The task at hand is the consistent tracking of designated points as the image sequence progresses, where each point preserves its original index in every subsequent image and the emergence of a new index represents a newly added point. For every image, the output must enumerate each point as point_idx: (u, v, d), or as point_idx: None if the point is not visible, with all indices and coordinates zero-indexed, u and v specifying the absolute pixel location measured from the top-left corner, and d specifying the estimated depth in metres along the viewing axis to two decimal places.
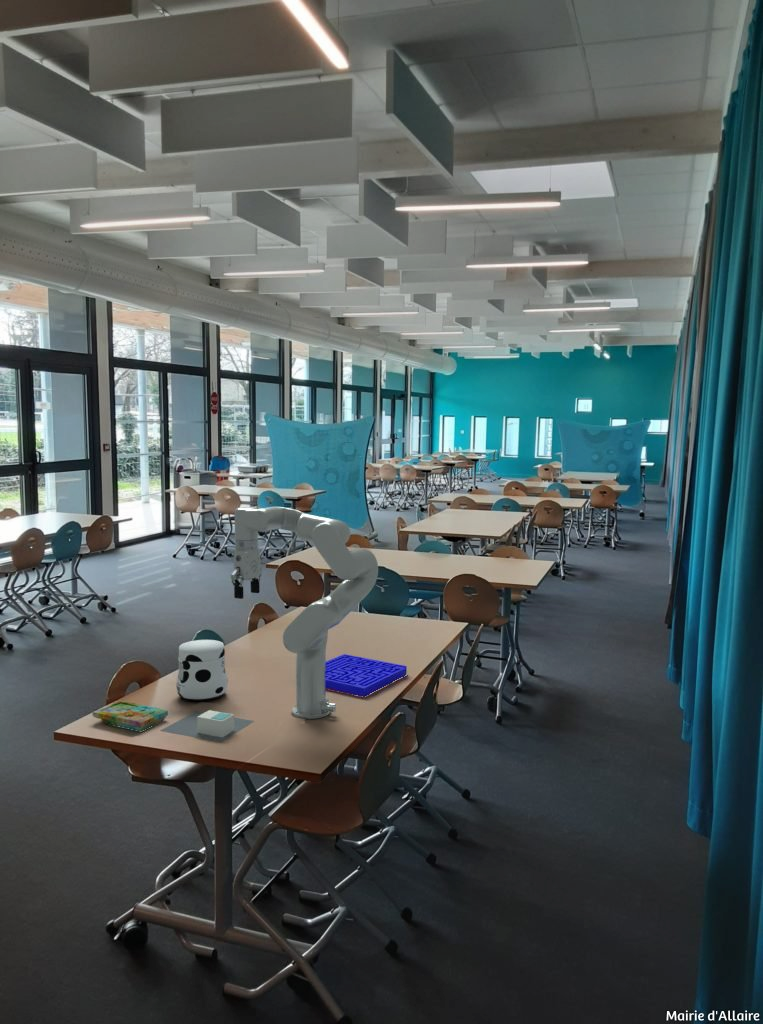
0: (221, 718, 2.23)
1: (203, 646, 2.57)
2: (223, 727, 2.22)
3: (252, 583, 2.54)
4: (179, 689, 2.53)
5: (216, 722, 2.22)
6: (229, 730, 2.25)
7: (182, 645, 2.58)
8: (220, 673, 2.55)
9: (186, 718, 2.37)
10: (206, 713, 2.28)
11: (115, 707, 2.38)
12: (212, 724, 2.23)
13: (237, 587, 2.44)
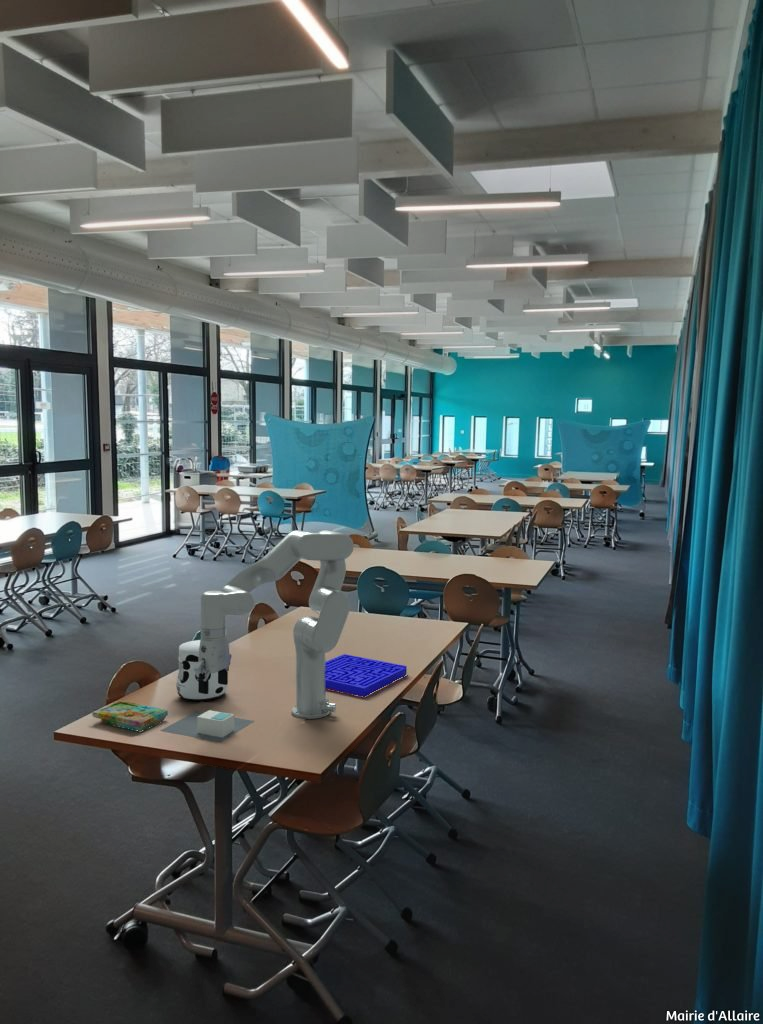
0: (221, 718, 2.23)
1: None
2: (223, 727, 2.22)
3: (220, 673, 2.29)
4: (179, 689, 2.53)
5: (216, 722, 2.22)
6: (229, 730, 2.25)
7: (182, 645, 2.58)
8: None
9: (186, 718, 2.37)
10: (206, 713, 2.28)
11: (115, 707, 2.38)
12: (212, 724, 2.23)
13: (201, 681, 2.19)
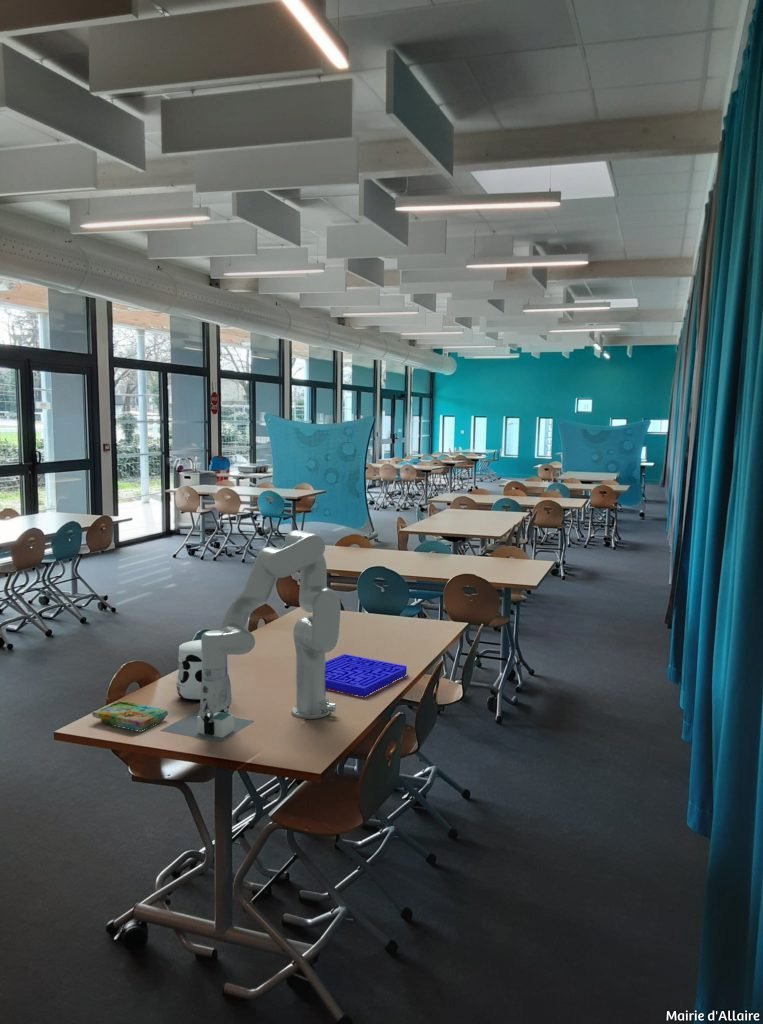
0: (221, 718, 2.23)
1: None
2: (223, 727, 2.22)
3: None
4: (179, 689, 2.53)
5: (215, 722, 2.22)
6: (229, 730, 2.25)
7: (182, 645, 2.58)
8: None
9: (186, 718, 2.37)
10: None
11: (115, 707, 2.38)
12: None
13: (207, 723, 2.22)
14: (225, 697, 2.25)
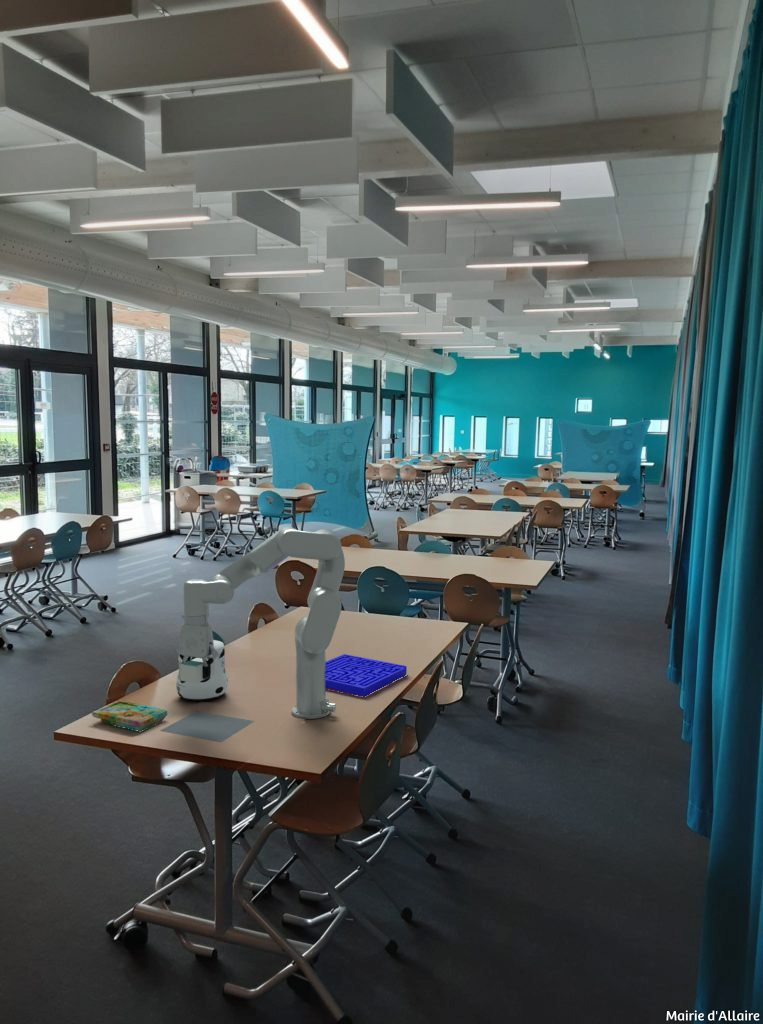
0: (186, 663, 2.31)
1: None
2: (182, 672, 2.30)
3: None
4: (179, 689, 2.53)
5: None
6: (190, 679, 2.29)
7: None
8: (220, 673, 2.55)
9: (186, 718, 2.37)
10: None
11: (115, 707, 2.38)
12: None
13: None
14: (195, 647, 2.29)
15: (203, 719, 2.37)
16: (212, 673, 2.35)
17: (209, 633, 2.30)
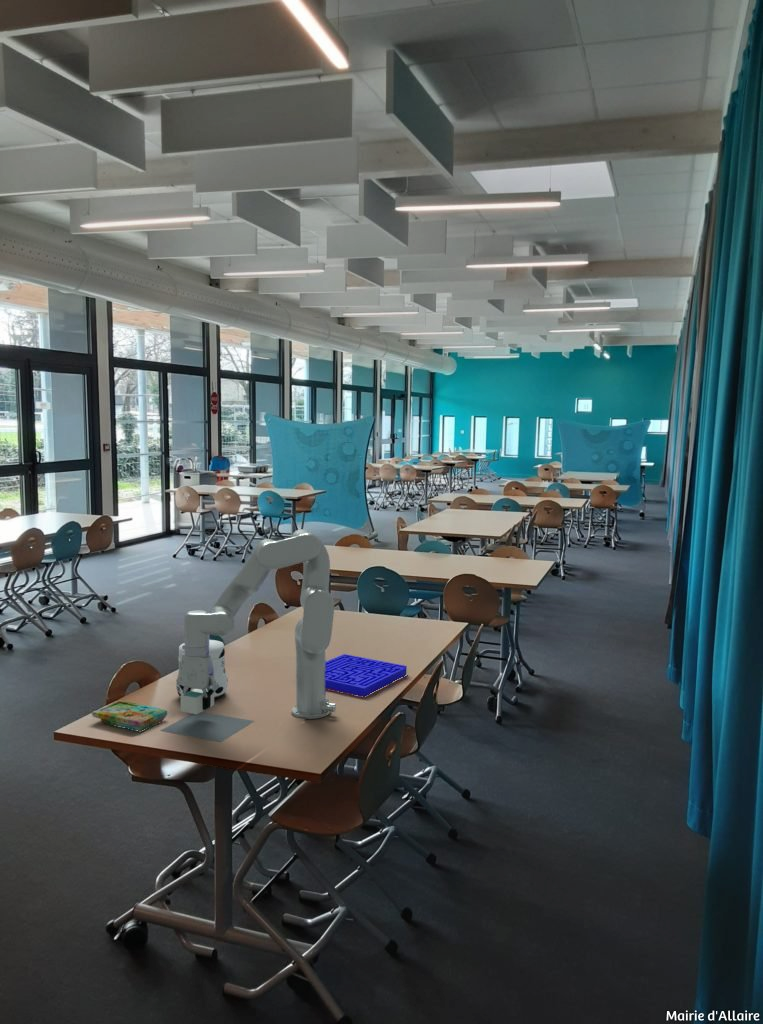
0: (186, 694, 2.32)
1: None
2: (182, 703, 2.31)
3: None
4: (179, 689, 2.53)
5: None
6: (189, 710, 2.30)
7: (182, 645, 2.58)
8: (220, 673, 2.55)
9: (186, 718, 2.37)
10: None
11: (114, 707, 2.38)
12: None
13: None
14: (195, 678, 2.30)
15: (203, 719, 2.37)
16: (212, 703, 2.36)
17: (209, 664, 2.31)
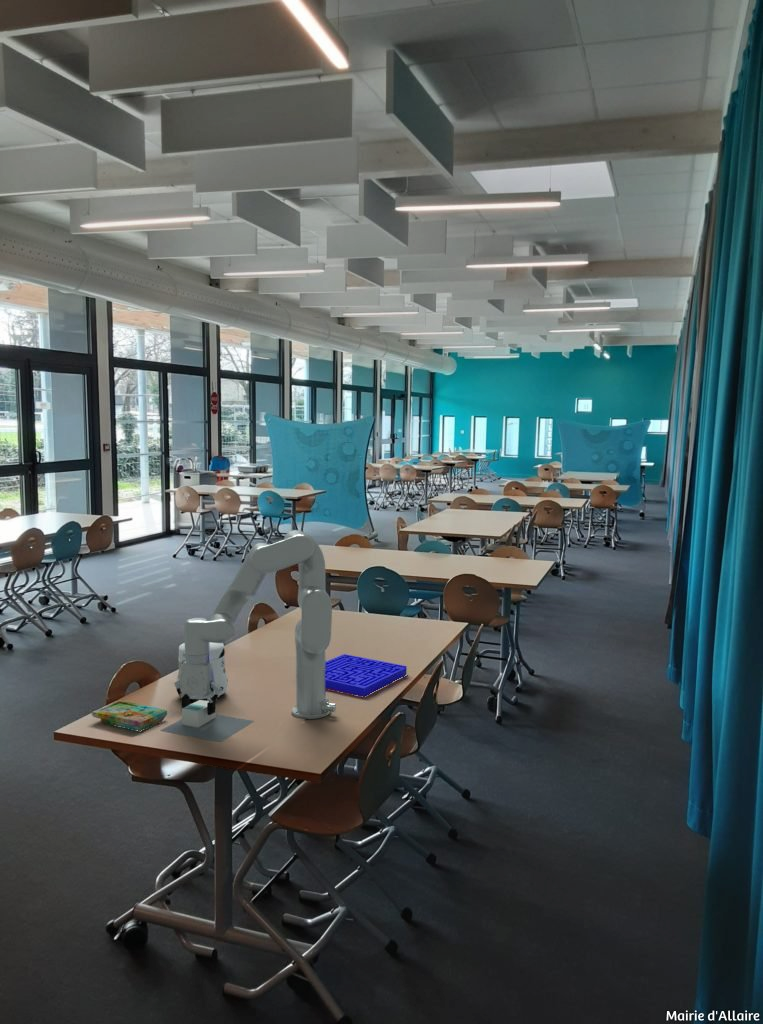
0: (188, 707, 2.32)
1: None
2: (183, 716, 2.31)
3: None
4: None
5: None
6: (191, 723, 2.30)
7: (182, 645, 2.58)
8: (220, 673, 2.55)
9: None
10: (206, 702, 2.38)
11: (114, 707, 2.38)
12: None
13: None
14: (195, 685, 2.31)
15: None
16: (213, 716, 2.37)
17: (210, 672, 2.31)
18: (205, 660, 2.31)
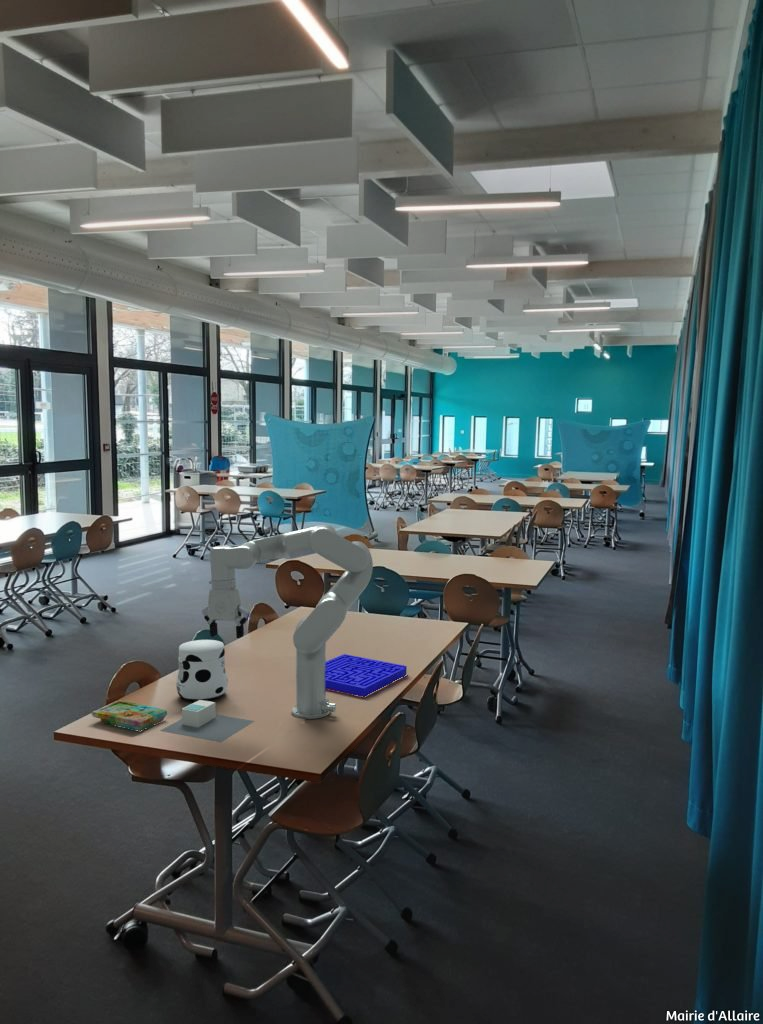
0: (188, 707, 2.32)
1: (203, 646, 2.57)
2: (183, 716, 2.31)
3: None
4: (179, 689, 2.53)
5: None
6: (191, 723, 2.30)
7: (182, 645, 2.58)
8: (220, 673, 2.55)
9: None
10: (206, 702, 2.38)
11: (114, 707, 2.38)
12: None
13: None
14: (224, 610, 2.38)
15: None
16: (213, 716, 2.37)
17: (237, 596, 2.39)
18: (232, 585, 2.38)
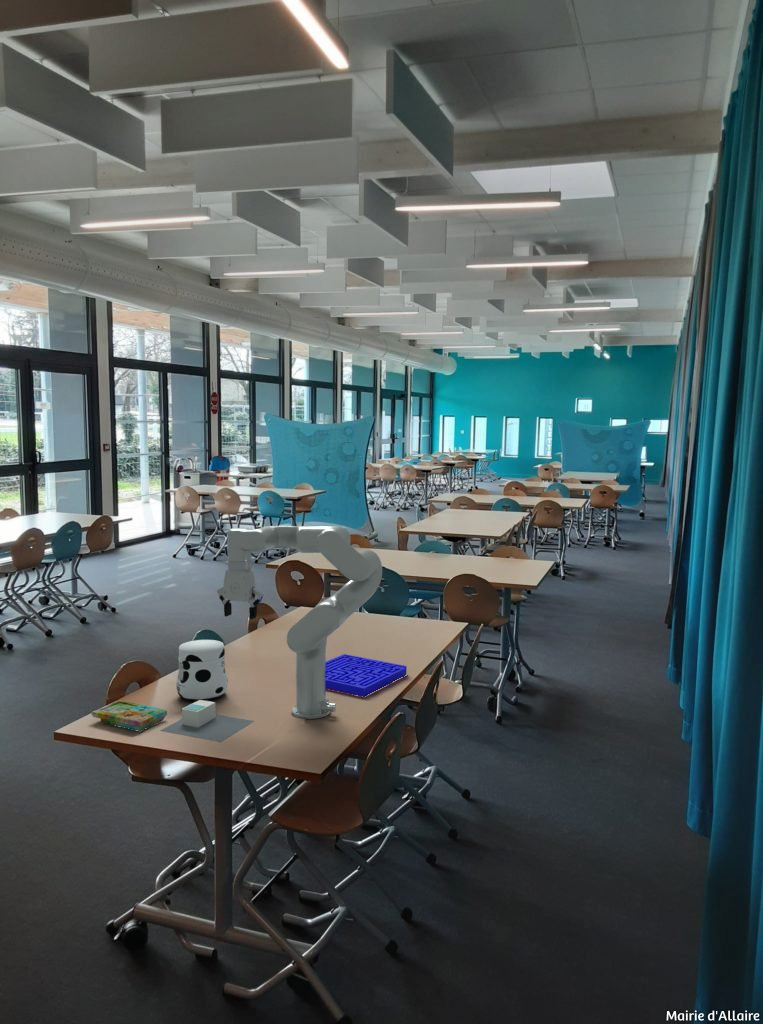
0: (188, 707, 2.32)
1: (203, 646, 2.57)
2: (183, 716, 2.31)
3: None
4: (179, 689, 2.53)
5: None
6: (191, 723, 2.30)
7: (182, 645, 2.58)
8: (220, 673, 2.55)
9: None
10: (206, 702, 2.38)
11: (114, 707, 2.38)
12: None
13: None
14: (238, 591, 2.43)
15: None
16: (213, 716, 2.37)
17: (252, 578, 2.44)
18: (247, 567, 2.43)
